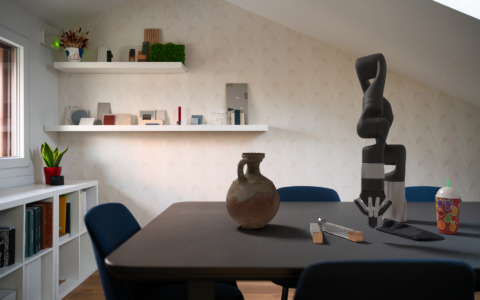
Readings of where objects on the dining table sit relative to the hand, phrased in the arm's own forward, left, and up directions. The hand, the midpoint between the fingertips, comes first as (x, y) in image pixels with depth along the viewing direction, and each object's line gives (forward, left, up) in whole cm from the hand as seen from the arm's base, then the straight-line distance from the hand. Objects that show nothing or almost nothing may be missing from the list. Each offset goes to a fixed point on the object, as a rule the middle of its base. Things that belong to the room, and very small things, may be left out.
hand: (372, 227), depth 128 cm
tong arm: (+9, -6, -4) cm, 12 cm away
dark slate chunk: (-16, -13, -5) cm, 21 cm away
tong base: (+17, -6, -5) cm, 19 cm away
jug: (+42, -18, -5) cm, 46 cm away
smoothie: (-31, -16, -5) cm, 35 cm away
